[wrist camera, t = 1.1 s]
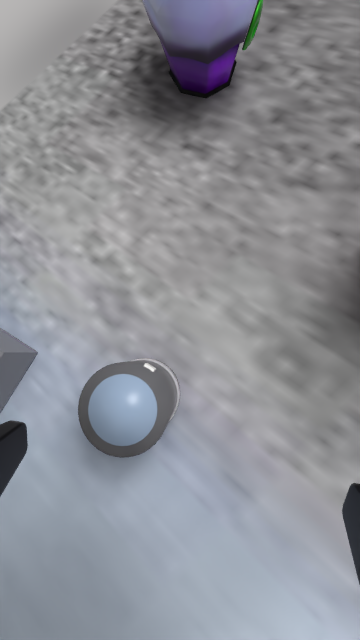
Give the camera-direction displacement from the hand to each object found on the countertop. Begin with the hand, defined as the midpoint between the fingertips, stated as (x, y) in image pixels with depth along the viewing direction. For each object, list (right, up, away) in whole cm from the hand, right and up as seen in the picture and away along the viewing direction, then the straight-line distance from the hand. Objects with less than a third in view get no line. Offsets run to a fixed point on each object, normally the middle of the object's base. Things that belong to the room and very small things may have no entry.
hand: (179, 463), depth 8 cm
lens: (-2, -1, +14) cm, 15 cm away
